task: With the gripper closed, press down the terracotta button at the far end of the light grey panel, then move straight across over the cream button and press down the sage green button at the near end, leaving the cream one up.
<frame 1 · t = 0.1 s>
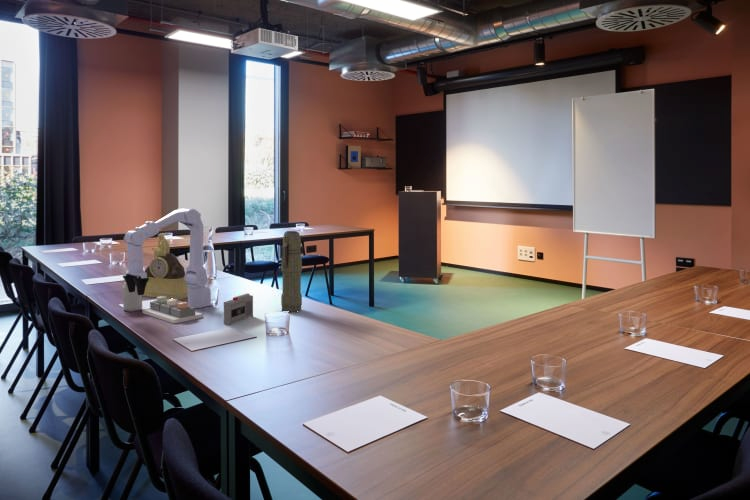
hand: (136, 293, 220), 10 cm above the table, tool pointing down, fingers open, 7 cm apart
decorative clock: (162, 295, 266), on the table
cassette player: (238, 320, 221), on the table
can: (133, 310, 235), on the table
panel: (172, 315, 226), on the table
terracotta button: (182, 306, 221), point 5 cm above the table, slide at 0.0 cm
sage button: (161, 300, 231), point 5 cm above the table, slide at 0.0 cm
thermos: (291, 310, 239), on the table
cream button: (172, 303, 226), point 5 cm above the table, slide at 0.0 cm
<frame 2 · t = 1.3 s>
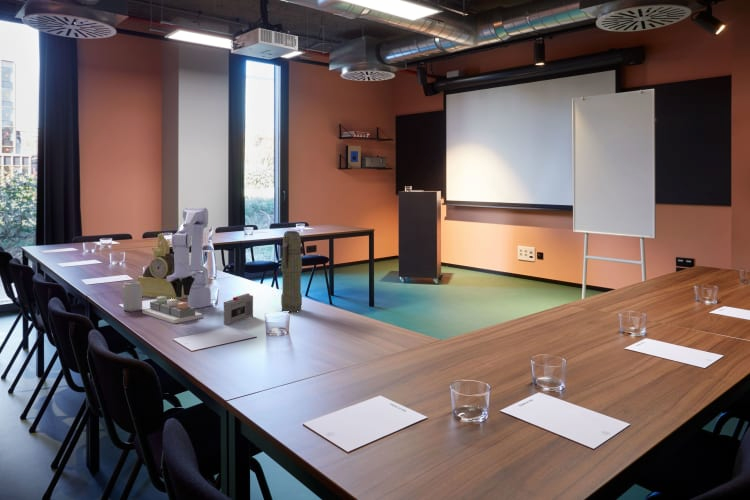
hand: (182, 296, 220), 9 cm above the table, tool pointing down, fingers open, 4 cm apart
nothing on the table moved.
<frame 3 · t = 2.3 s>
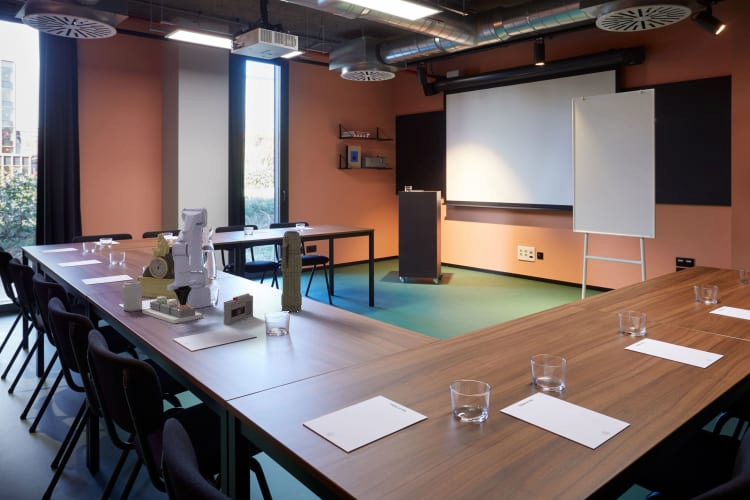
hand: (182, 304, 220), 6 cm above the table, tool pointing down, fingers closed, pressing on terracotta button
terracotta button: (182, 308, 221), point 4 cm above the table, slide at 0.7 cm, touching gripper
everything else where it was.
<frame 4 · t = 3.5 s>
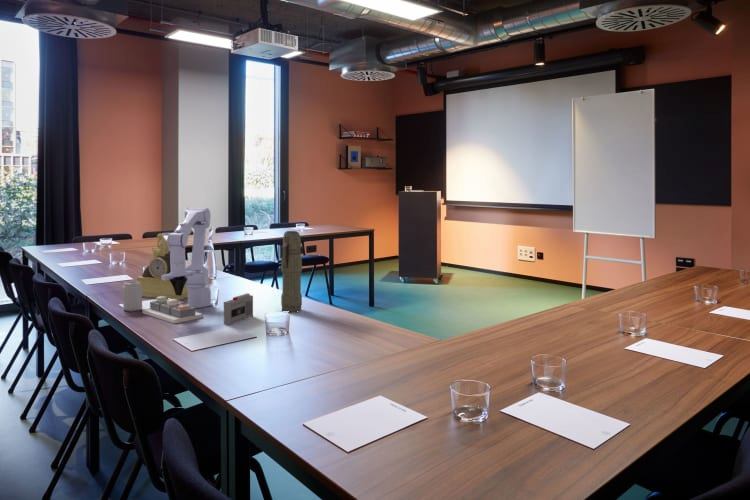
hand: (178, 295, 222), 9 cm above the table, tool pointing down, fingers closed
terracotta button: (183, 310, 221), point 4 cm above the table, slide at 1.3 cm
everything else where it was.
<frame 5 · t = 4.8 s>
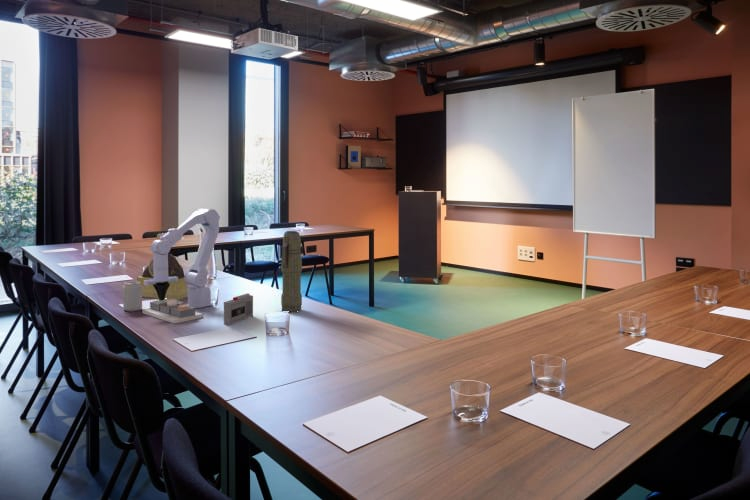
hand: (161, 300, 230), 5 cm above the table, tool pointing down, fingers closed, pressing on sage button
sage button: (161, 303, 231), point 4 cm above the table, slide at 1.2 cm, touching gripper
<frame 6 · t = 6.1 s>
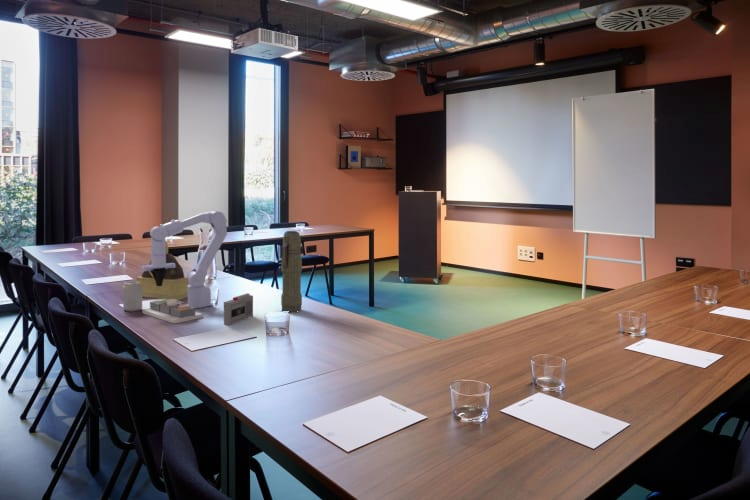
hand: (159, 285, 234), 10 cm above the table, tool pointing down, fingers closed
sage button: (161, 303, 231), point 4 cm above the table, slide at 1.3 cm
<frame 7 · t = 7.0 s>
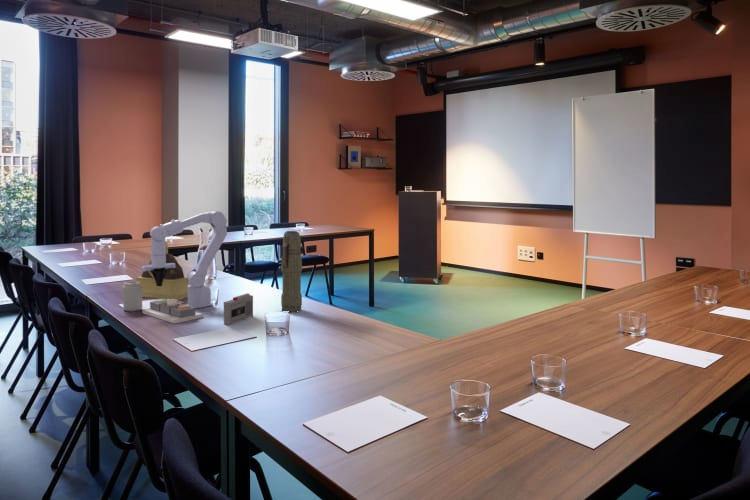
hand: (159, 285, 234), 10 cm above the table, tool pointing down, fingers closed
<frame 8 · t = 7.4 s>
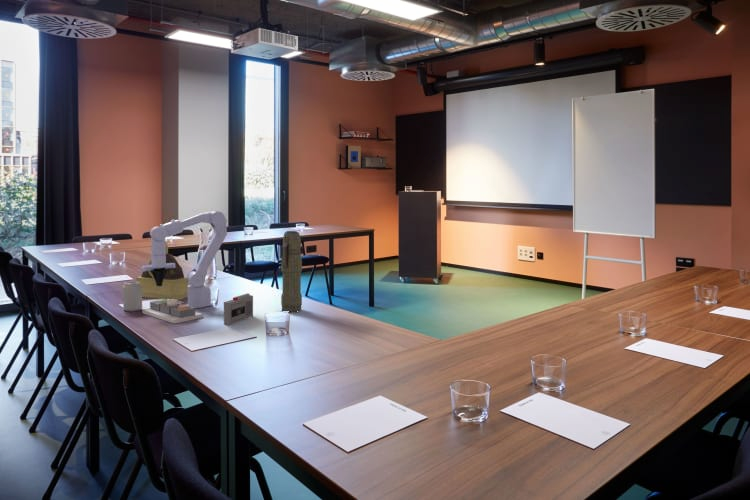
hand: (159, 285, 234), 10 cm above the table, tool pointing down, fingers closed
at the end: terracotta button slide at 1.3 cm; sage button slide at 1.3 cm; cream button slide at 0.0 cm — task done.
